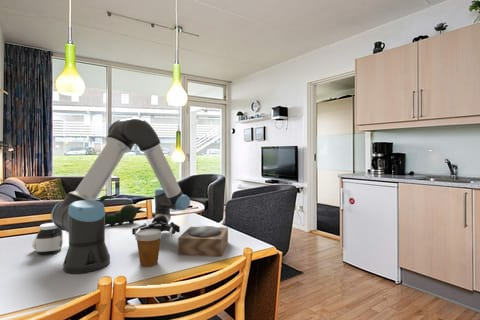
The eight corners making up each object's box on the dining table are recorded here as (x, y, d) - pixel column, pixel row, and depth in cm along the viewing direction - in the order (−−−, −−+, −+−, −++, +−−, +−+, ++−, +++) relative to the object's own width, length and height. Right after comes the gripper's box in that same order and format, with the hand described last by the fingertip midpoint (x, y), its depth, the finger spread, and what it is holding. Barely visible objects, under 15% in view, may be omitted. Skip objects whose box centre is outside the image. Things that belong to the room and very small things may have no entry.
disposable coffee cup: (167, 262, 104) (167, 230, 104) (146, 270, 96) (146, 237, 96) (150, 257, 109) (150, 227, 109) (130, 265, 101) (129, 233, 101)
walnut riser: (178, 254, 112) (178, 235, 112) (190, 241, 130) (190, 224, 130) (221, 256, 110) (221, 236, 110) (227, 242, 128) (227, 225, 128)
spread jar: (53, 255, 111) (53, 227, 111) (22, 257, 109) (22, 228, 109) (67, 246, 123) (67, 220, 122) (39, 247, 121) (39, 221, 121)
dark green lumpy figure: (98, 231, 152) (144, 221, 165) (94, 198, 151) (141, 191, 164) (97, 227, 160) (141, 218, 173) (93, 196, 159) (138, 189, 172)
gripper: (186, 229, 136) (184, 242, 115) (133, 231, 132) (121, 246, 111) (186, 214, 135) (184, 225, 114) (133, 216, 131) (121, 228, 111)
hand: (153, 235), depth 113 cm, fingers open, 13 cm apart
